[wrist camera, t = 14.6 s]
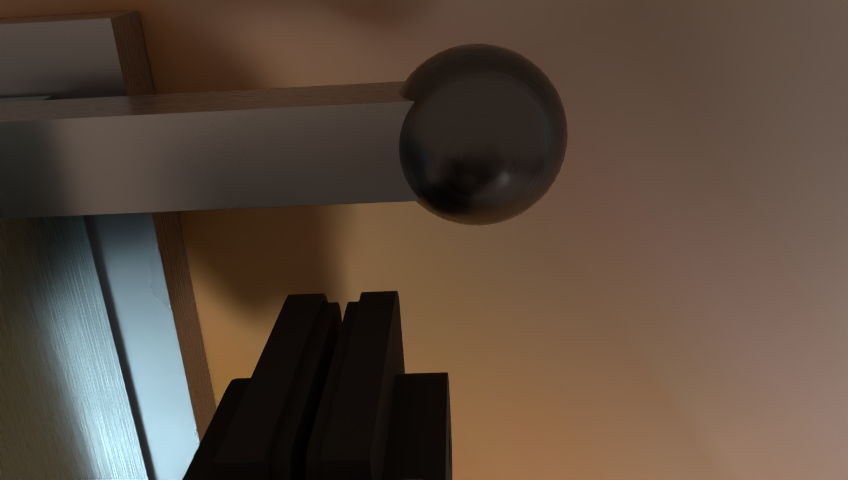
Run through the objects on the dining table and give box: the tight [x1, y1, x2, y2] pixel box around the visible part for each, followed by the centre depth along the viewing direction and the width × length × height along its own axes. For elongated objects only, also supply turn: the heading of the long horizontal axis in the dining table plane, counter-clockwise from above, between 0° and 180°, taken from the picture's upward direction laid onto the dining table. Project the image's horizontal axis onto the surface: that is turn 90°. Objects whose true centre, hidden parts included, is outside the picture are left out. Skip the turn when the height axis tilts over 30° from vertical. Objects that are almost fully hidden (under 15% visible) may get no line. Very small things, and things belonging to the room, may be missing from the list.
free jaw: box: [0, 44, 567, 480], centre depth 11 cm, size 10×10×4 cm
